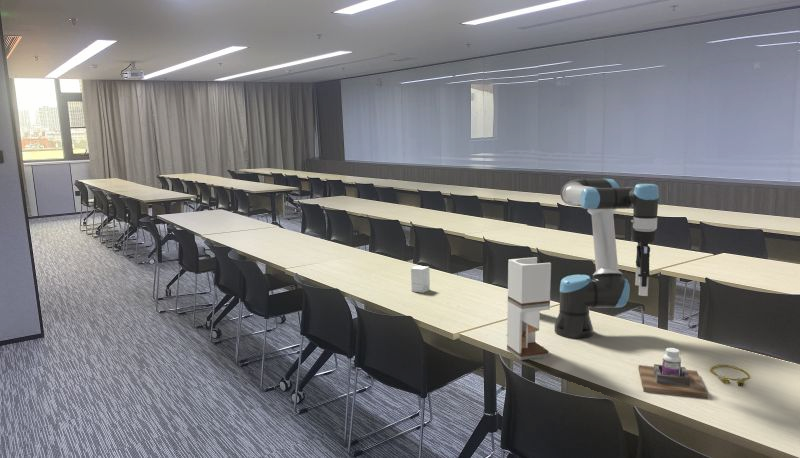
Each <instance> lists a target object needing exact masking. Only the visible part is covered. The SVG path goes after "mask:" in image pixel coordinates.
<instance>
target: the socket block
mask: <svg viewBox="0 0 800 458" xmlns="http://www.w3.org/2000/svg"><path fill="white" fill-rule="evenodd" d="M662 365H663V364H655V363H654V364H653V366H651V365H641V364H638V373H639V378H640V382H641V383H640V384H641V386H642V390H643V392H647V393H653V394H654V393H655V394H663V395H673V396H682V397H683V396H684V397H691V398H701V399H708V392H707V390H706V387H705V386H704V383H703V381H702V379H701V377H700V375H699V372H698V371H697V370H694V369H693V370H691V369H686V367H684V366H681V370H680V376H673V375H663V374H662Z"/></svg>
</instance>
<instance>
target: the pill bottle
mask: <svg viewBox="0 0 800 458" xmlns="http://www.w3.org/2000/svg"><path fill="white" fill-rule="evenodd" d="M661 365H662V374H663V375H673V376H680V370H681V367H682V366H681V365H682V358H681V356H680V350H679V349H677V348H674V347H667V348H665V354H664V355H663V356H662V364H661Z"/></svg>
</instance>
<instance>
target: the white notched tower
mask: <svg viewBox="0 0 800 458" xmlns="http://www.w3.org/2000/svg"><path fill="white" fill-rule="evenodd" d="M507 265H508V266H507V318H506V319H507V321H506V322H507V324H506V325H507V326H506V329H507V330H506V332H507V333H506V337H507V338H506V351H508V352H509V353H510V354H512V355H513V356H514V357H515V358H517V359H518V360H520V361H524V360H531V359H538V358H547V357H549V354H550V353H549V352H550V351H549V350H548V349H546V348H545V347H544V346H542V345H540V344H539V343H537V342H536V332H539V331H540V315H541V312H540V311H547V310H548V311H549V310H550V309H551V281H552V280H551V279H552V276H551V275H552V263H551V262H542V263H538V257H537V256H536V257H522V258H511V259H508V263H507Z"/></svg>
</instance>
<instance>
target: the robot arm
mask: <svg viewBox="0 0 800 458" xmlns="http://www.w3.org/2000/svg"><path fill="white" fill-rule="evenodd" d="M659 191H660V190H659V186H658V184H654V183H637V184H636V185H635V186H627V187H620V186H619V184H618V182H616V180H615V179H613V178H605V177H604V178H579V179H577V178H576V179H572V180H570V181H568V182H566V183H564V185H563V186H562V187H561V189H560V192H559V193H560V194H559V195H560V198H561V201H563V202H564V204H567V205H568V206H572V207H581V208H582V209H584V210H586V211H587V213H588V214H590V215H591V224H592V238H593V248H594V249H593V250H594V259H595V260H594V261H595V271H594V273H593V274H592V278H591V277H590V275H587V274H572V275H567V276H564V277H563V278H562V279H561V280H560V285H559V313H558V316H557V318H556V321H555V322H554V323H555V324H554V333H555V334H557V335H558V336H562V337H566V338H571V339H585V338H589V337H591V336H593V335H594V327H593V324H592V320H591V317H590V309H592V308H593V309H594V308H595V309H600V308H601V309H604V308H605V309H608V308H609V309H610V308H611V309H615V308H616V309H617V308H623V307H624V306H626V305H627V303H628V300H629V298H630V293H631V292H630V290H631V289H630V288H631V287H630V283H629V280H628V279H627V278H625V277H624V275H623V273H622V272H621V270H620V269H619V262H618V254H617V242H616V230H615V219H614V213H615V212H616V211H617V210H625V209H627V210H628V209H631V210H632V209H633V212H632V213H633V214H632V218H633V219H631V220H630V222H631V223H632V228H633V230H632V234H631V235H632V236H631V240H632V241H633V242H636V243H637V245H636V259H635V266H636V267H635V282H634V285H635V286H638V296H643V297H648V295H649V294H648V293H649V291H648V290H649V278H650V276H651V275H650V256H651V255H650V252H651V247H650V245H649V243H655V242H656V240H657V231H656V230H657V228H658V209H659V198H660V194H659Z"/></svg>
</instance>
